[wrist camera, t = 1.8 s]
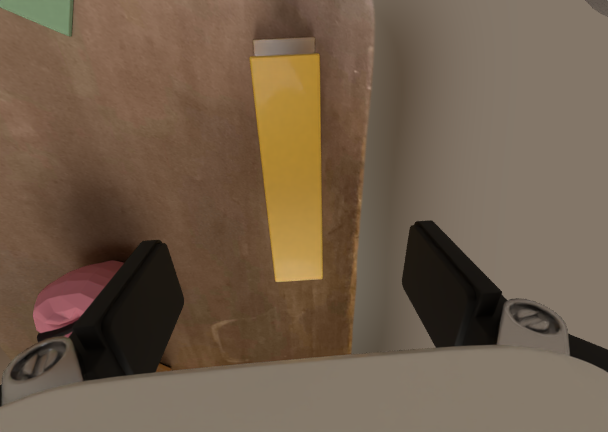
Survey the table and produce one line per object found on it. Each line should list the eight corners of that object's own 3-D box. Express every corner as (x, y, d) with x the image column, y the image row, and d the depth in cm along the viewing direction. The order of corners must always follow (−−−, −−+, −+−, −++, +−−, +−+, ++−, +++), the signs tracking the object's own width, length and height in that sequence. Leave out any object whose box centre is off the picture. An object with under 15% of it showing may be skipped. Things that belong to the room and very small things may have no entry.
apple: (116, 310, 36) (61, 388, 27) (60, 261, 32) (-24, 335, 23) (178, 282, 35) (141, 356, 26) (128, 228, 31) (65, 293, 22)
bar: (255, 58, 16) (249, 56, 13) (314, 55, 16) (320, 53, 14) (276, 257, 23) (275, 282, 20) (318, 254, 23) (322, 279, 20)
